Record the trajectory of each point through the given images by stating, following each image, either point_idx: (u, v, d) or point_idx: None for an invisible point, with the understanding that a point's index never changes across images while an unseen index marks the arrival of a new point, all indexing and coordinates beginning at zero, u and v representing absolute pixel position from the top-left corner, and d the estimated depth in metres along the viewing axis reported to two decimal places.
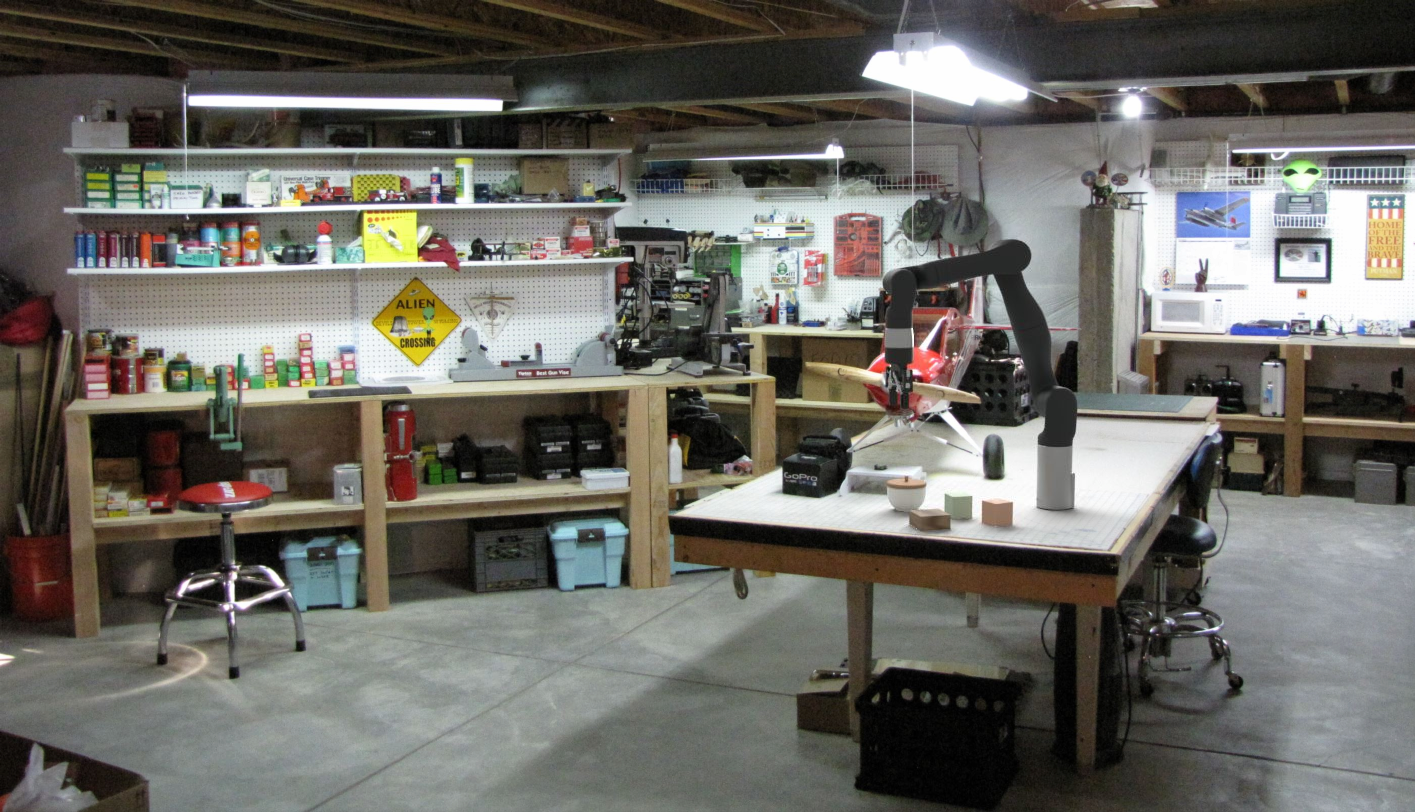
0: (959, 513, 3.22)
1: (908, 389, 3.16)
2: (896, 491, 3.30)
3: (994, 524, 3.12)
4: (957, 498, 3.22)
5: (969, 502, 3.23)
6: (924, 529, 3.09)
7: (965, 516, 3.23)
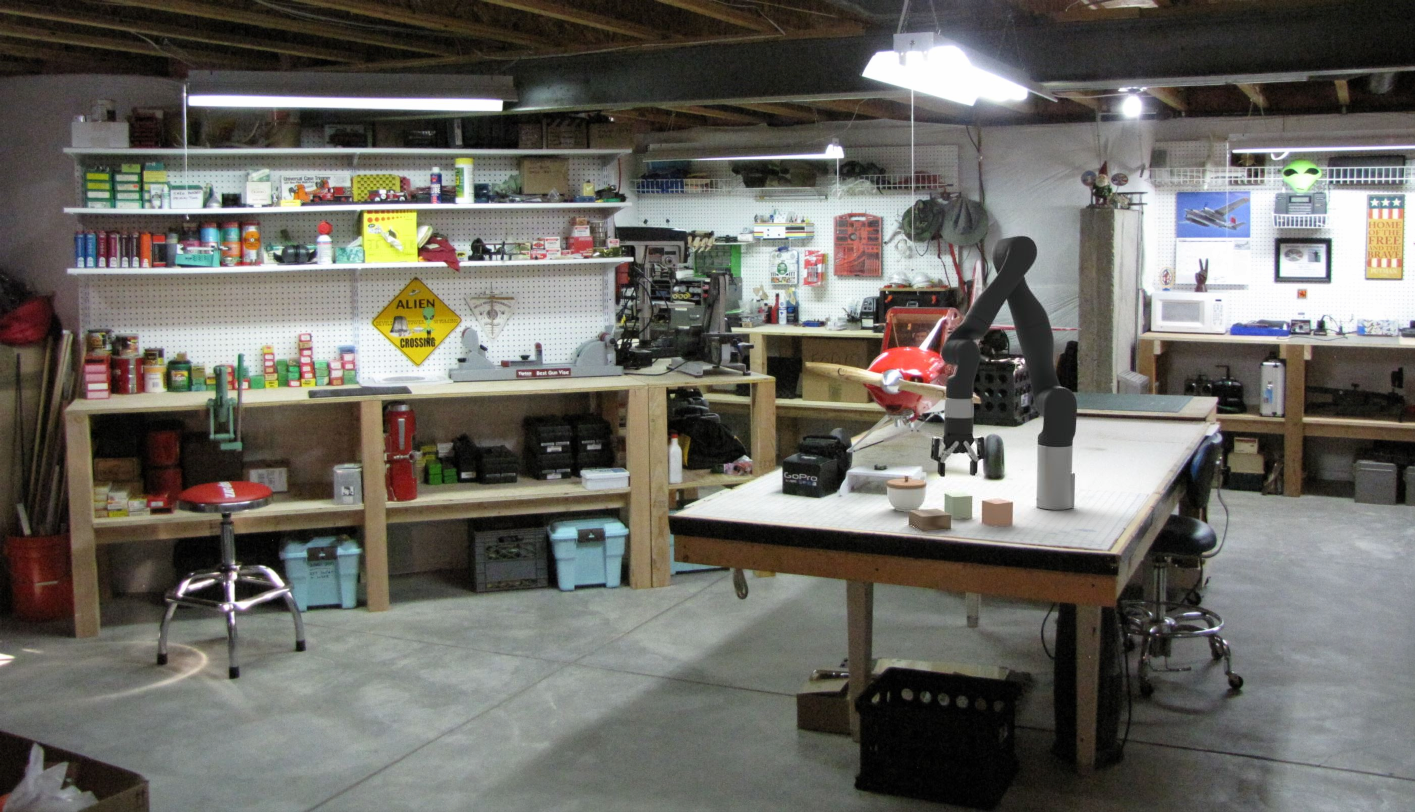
0: (959, 512, 3.22)
1: None
2: (896, 491, 3.30)
3: (994, 524, 3.12)
4: (957, 498, 3.22)
5: (969, 502, 3.23)
6: (925, 529, 3.09)
7: (965, 516, 3.23)
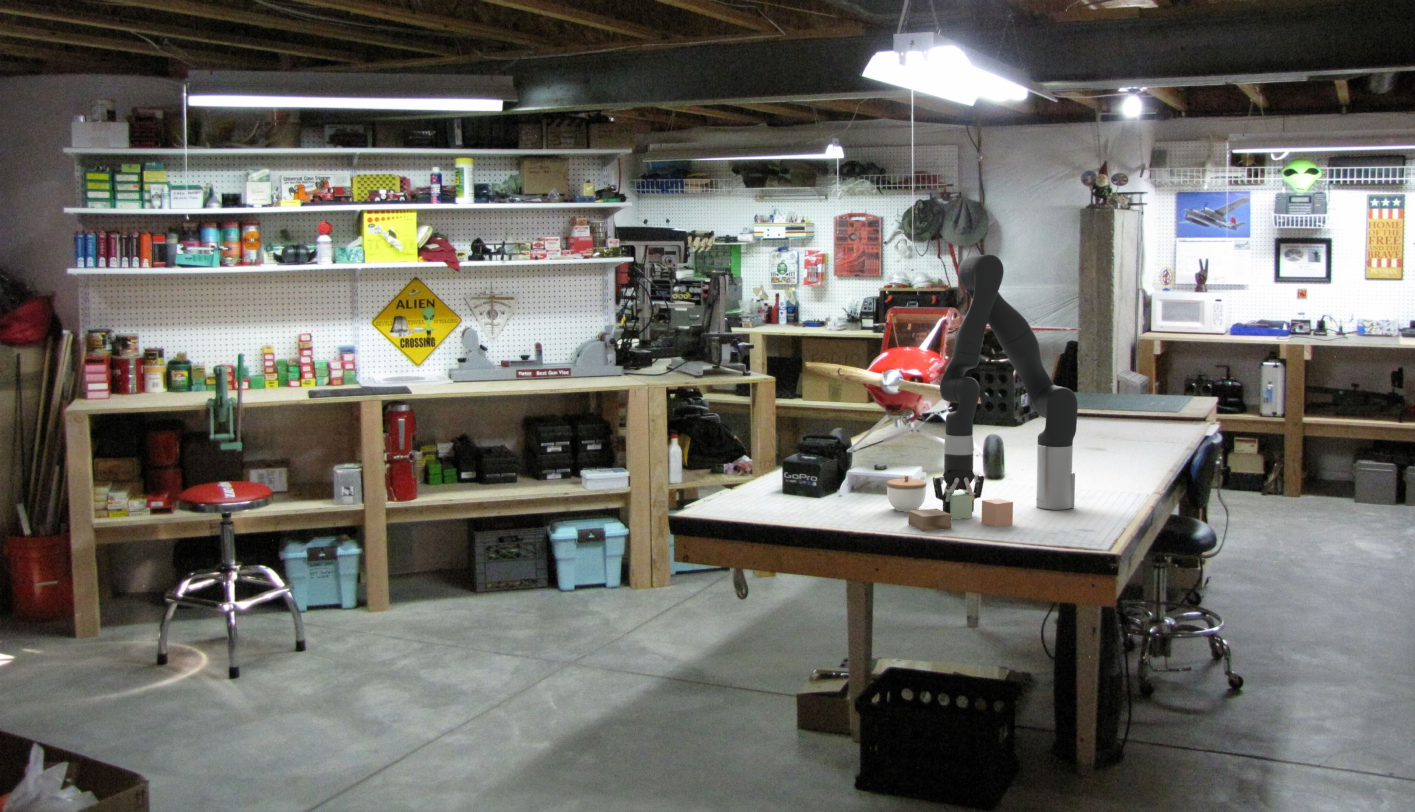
0: (959, 512, 3.22)
1: None
2: (896, 491, 3.30)
3: (994, 524, 3.12)
4: (957, 498, 3.22)
5: (969, 502, 3.23)
6: (926, 529, 3.08)
7: (965, 516, 3.23)
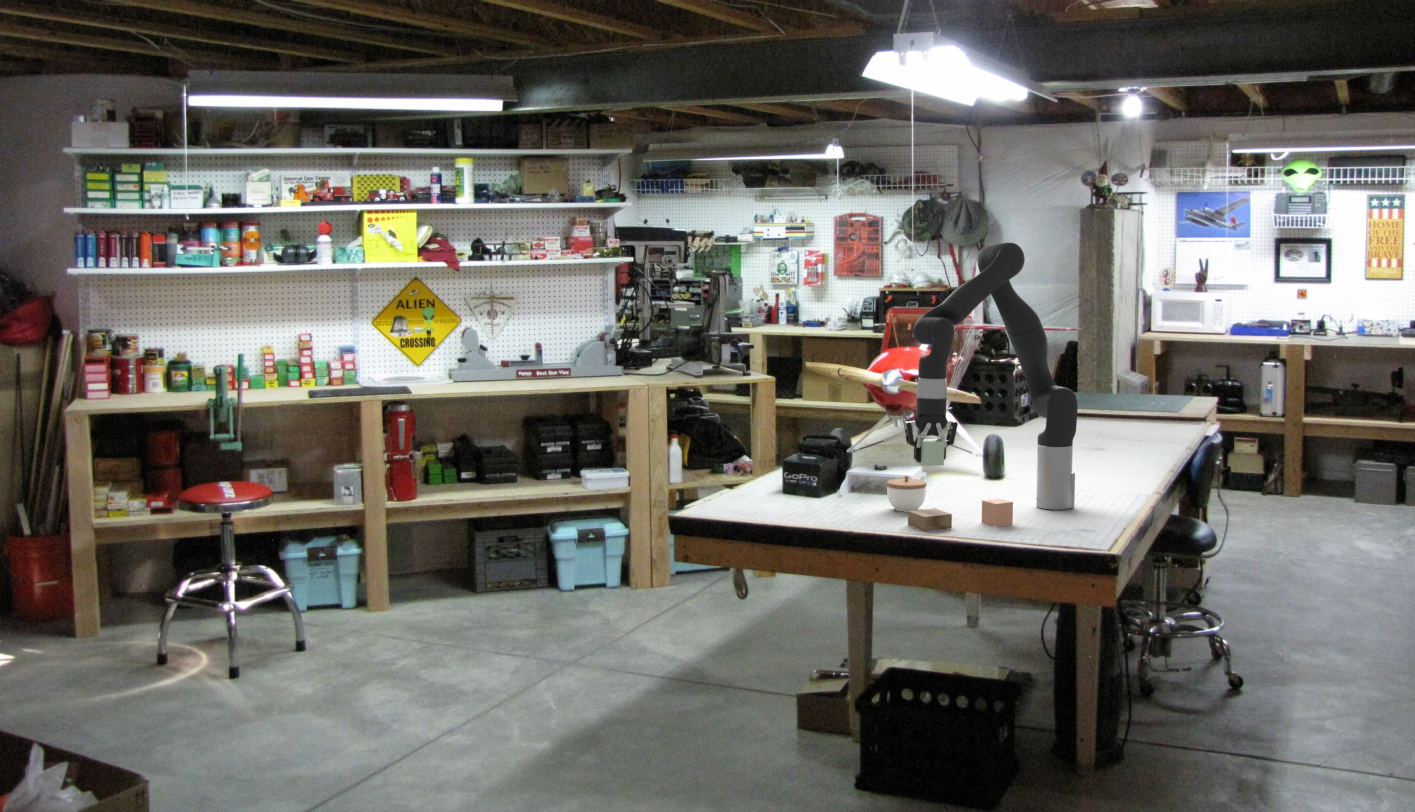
0: (930, 459, 3.10)
1: None
2: (896, 491, 3.30)
3: (994, 524, 3.12)
4: (928, 444, 3.10)
5: (941, 448, 3.10)
6: (927, 529, 3.08)
7: (936, 462, 3.11)
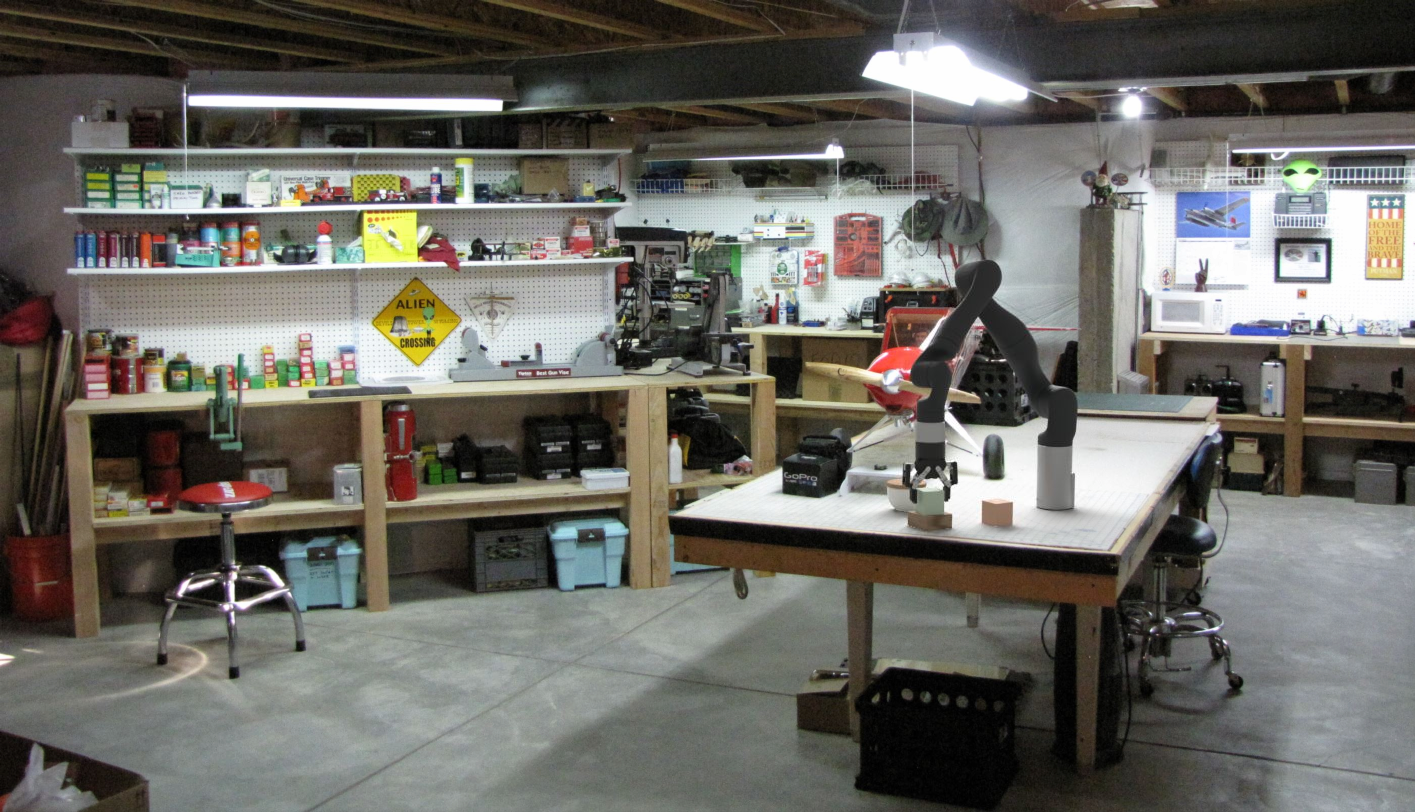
0: (931, 508, 3.10)
1: None
2: (896, 491, 3.30)
3: (994, 524, 3.12)
4: (929, 493, 3.09)
5: (941, 497, 3.10)
6: (929, 529, 3.08)
7: (937, 512, 3.10)
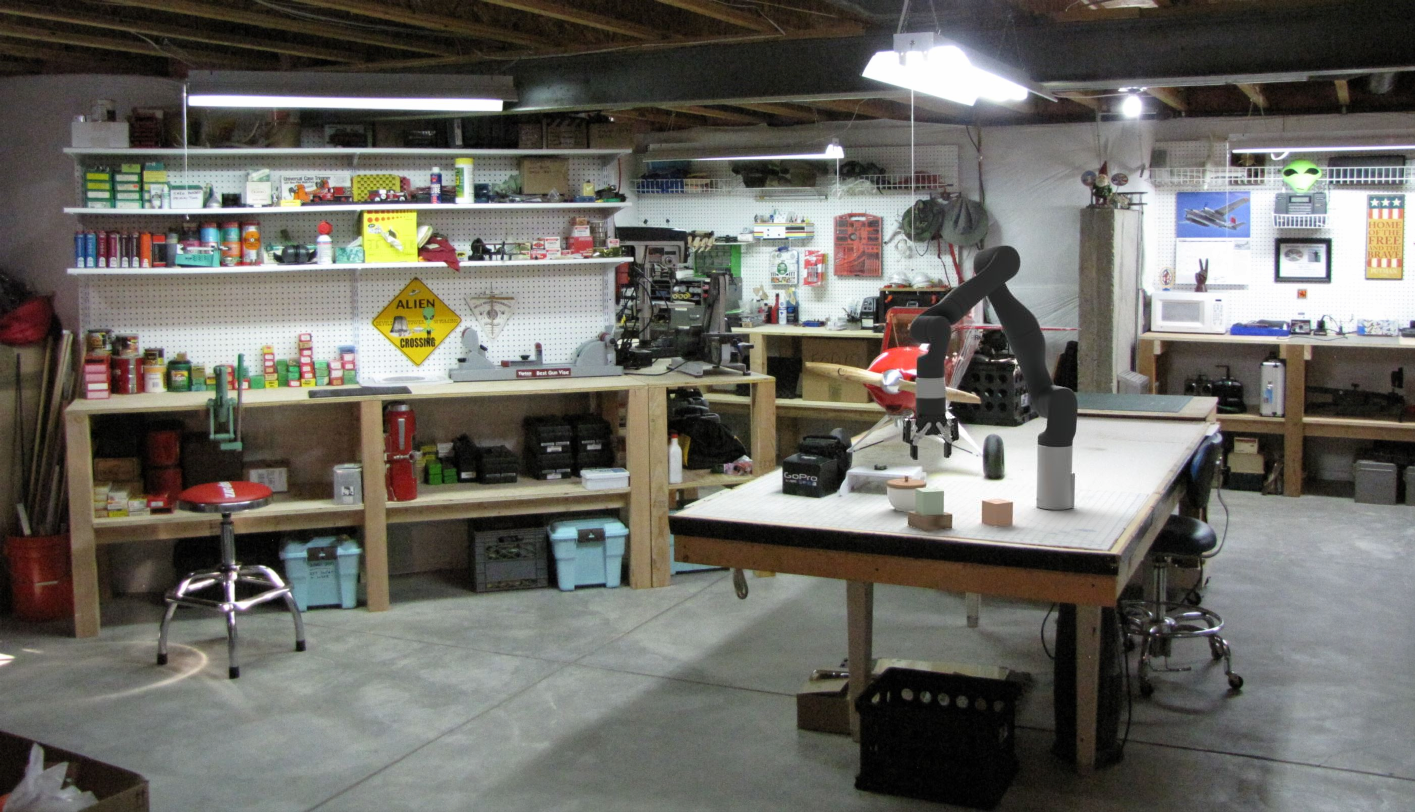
0: (930, 508, 3.10)
1: None
2: (896, 491, 3.30)
3: (994, 524, 3.12)
4: (928, 493, 3.09)
5: (940, 497, 3.10)
6: (929, 529, 3.08)
7: (936, 512, 3.10)
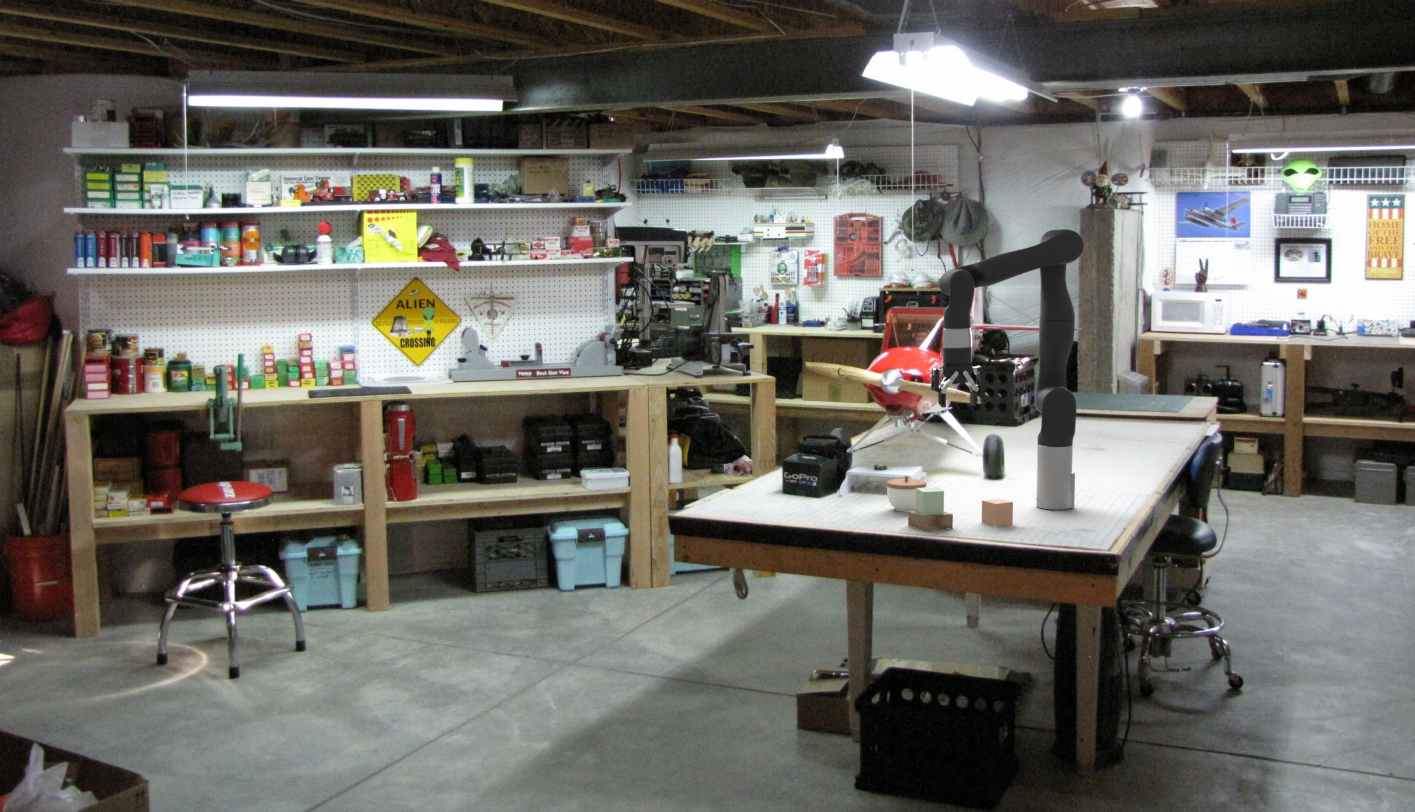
0: (930, 508, 3.10)
1: None
2: (896, 491, 3.30)
3: (994, 524, 3.12)
4: (928, 493, 3.09)
5: (940, 497, 3.10)
6: (930, 529, 3.08)
7: (936, 512, 3.10)
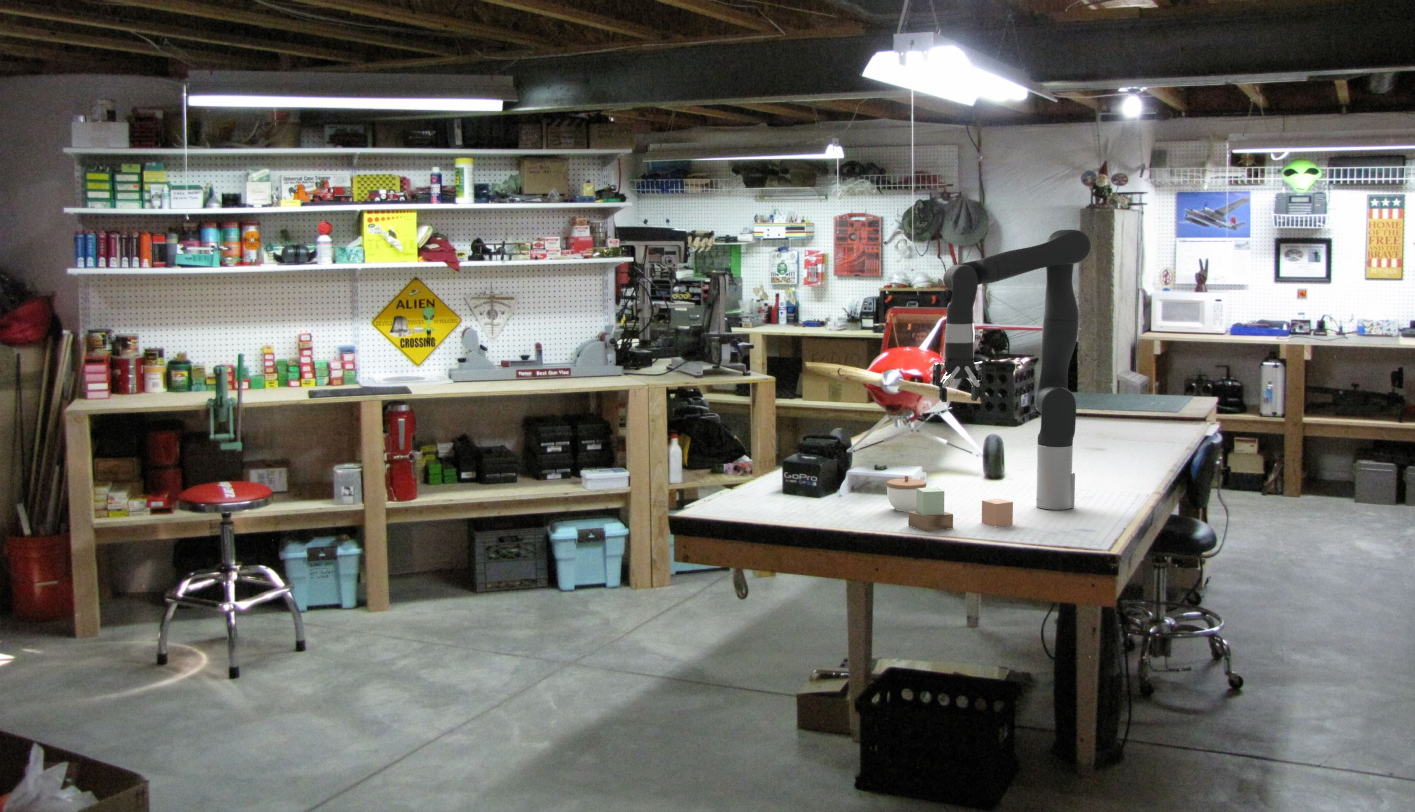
0: (930, 508, 3.10)
1: None
2: (896, 491, 3.30)
3: (994, 524, 3.12)
4: (928, 493, 3.09)
5: (941, 497, 3.10)
6: (930, 530, 3.08)
7: (937, 512, 3.10)
